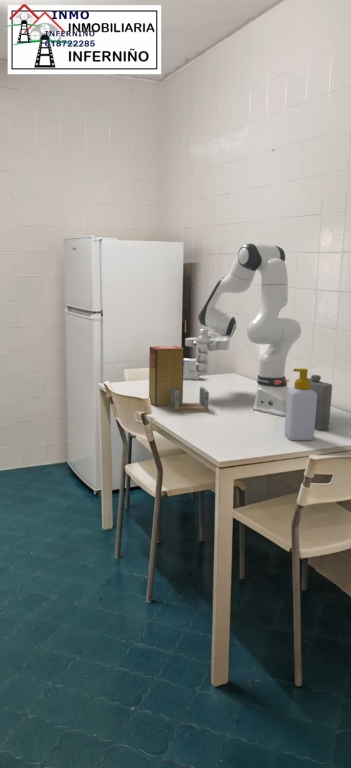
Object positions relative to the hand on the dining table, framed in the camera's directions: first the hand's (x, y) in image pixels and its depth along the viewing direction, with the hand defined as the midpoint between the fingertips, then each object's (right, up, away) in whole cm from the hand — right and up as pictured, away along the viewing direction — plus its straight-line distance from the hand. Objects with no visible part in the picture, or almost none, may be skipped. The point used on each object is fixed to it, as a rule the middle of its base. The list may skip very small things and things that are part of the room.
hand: (202, 344), depth 255 cm
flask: (+42, -34, -33) cm, 63 cm away
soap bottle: (+33, -37, -49) cm, 70 cm away
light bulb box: (-4, -15, +56) cm, 58 cm away
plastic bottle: (0, -13, +2) cm, 13 cm away
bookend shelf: (-6, -28, -12) cm, 31 cm away
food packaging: (-16, -26, -2) cm, 31 cm away
